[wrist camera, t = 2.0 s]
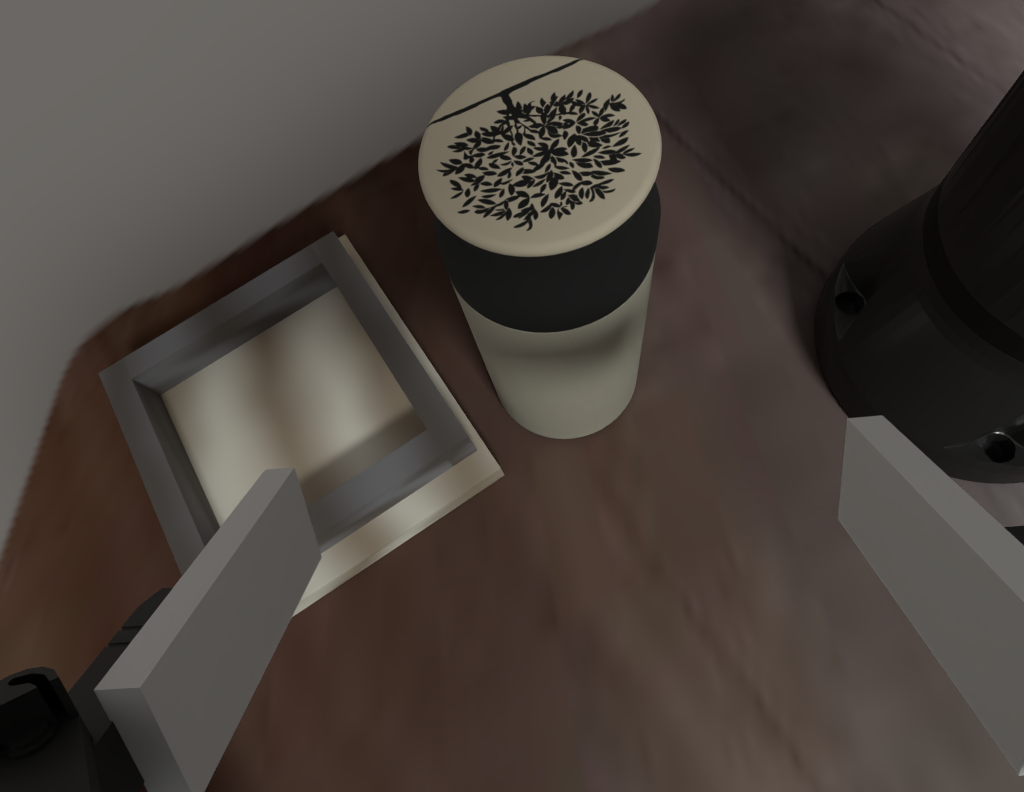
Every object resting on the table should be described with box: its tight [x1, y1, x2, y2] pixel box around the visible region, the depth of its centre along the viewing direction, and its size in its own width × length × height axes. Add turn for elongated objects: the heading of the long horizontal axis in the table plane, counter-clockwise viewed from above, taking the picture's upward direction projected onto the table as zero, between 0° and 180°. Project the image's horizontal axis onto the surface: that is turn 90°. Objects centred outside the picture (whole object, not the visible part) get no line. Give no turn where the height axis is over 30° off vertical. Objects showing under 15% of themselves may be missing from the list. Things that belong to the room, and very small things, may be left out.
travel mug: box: [418, 56, 662, 439], centre depth 28 cm, size 8×8×18 cm
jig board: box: [99, 231, 504, 617], centre depth 35 cm, size 16×18×4 cm
